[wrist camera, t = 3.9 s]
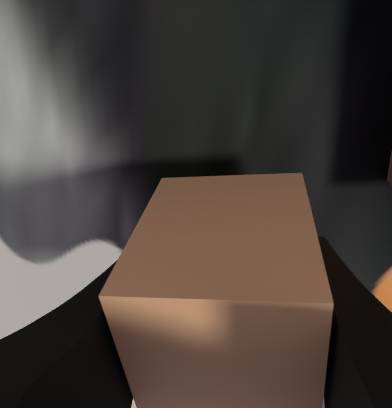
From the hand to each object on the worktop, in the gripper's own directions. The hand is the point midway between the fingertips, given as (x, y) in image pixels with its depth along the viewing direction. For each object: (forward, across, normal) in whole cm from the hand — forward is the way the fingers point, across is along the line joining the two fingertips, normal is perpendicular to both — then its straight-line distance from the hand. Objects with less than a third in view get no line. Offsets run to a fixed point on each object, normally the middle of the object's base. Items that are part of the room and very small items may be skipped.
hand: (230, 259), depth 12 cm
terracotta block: (+2, 0, 0) cm, 2 cm away
